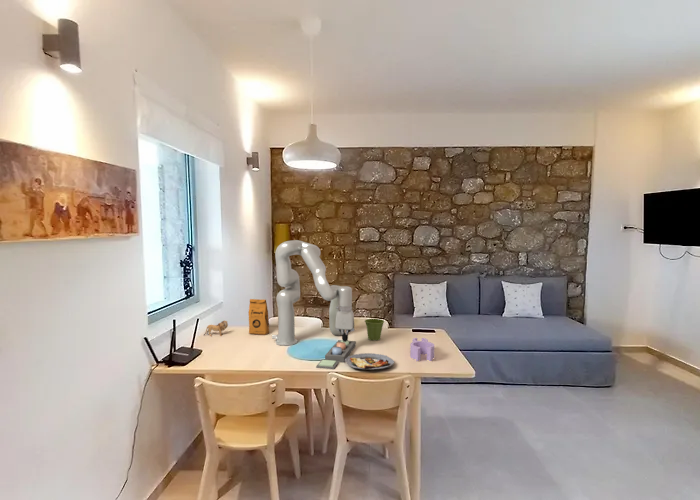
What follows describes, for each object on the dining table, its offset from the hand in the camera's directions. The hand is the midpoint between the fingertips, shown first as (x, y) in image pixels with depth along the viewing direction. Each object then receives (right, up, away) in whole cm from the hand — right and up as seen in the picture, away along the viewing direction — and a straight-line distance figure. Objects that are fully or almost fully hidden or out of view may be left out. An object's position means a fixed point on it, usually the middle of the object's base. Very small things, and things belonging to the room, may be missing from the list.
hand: (345, 340), depth 244 cm
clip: (+41, -6, -12) cm, 43 cm away
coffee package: (-55, -2, +31) cm, 63 cm away
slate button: (-4, -4, -17) cm, 18 cm away
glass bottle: (-5, -2, +28) cm, 29 cm away
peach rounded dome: (-2, -3, -9) cm, 9 cm away
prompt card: (-8, -6, -27) cm, 29 cm away
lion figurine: (-80, -2, +27) cm, 85 cm away
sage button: (0, -4, 0) cm, 4 cm away
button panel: (-2, -5, -8) cm, 10 cm away
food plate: (+13, -7, -26) cm, 30 cm away
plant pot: (+18, -3, +19) cm, 26 cm away
